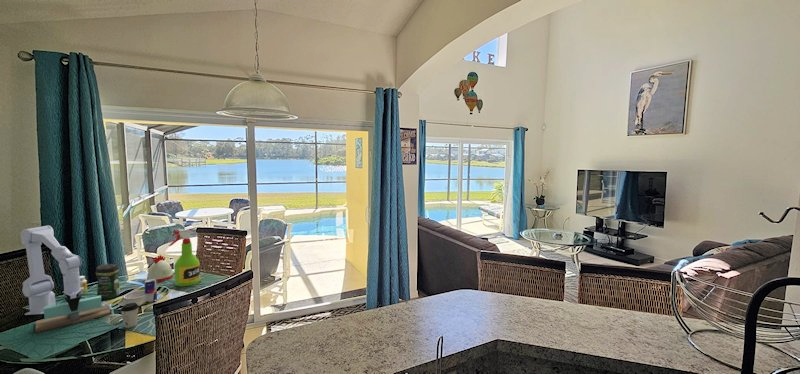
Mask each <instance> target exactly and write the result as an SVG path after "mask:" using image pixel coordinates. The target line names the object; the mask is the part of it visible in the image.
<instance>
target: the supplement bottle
mask: <svg viewBox="0 0 800 374" xmlns="http://www.w3.org/2000/svg"><path fill="white" fill-rule="evenodd" d="M82 287H84V290H81V291H80V292H79V294H78V296H82V295H84V294H86V293H88V280H87V279H86V276H85V275H80V288H82Z"/></svg>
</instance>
